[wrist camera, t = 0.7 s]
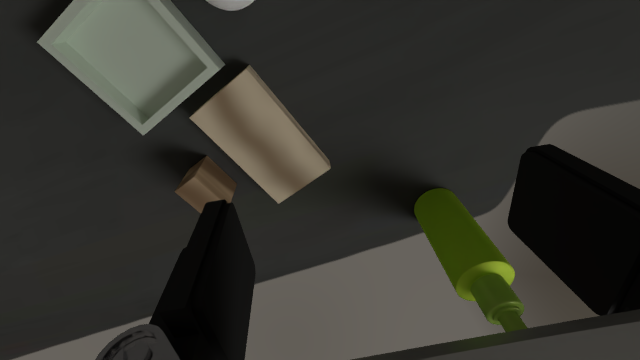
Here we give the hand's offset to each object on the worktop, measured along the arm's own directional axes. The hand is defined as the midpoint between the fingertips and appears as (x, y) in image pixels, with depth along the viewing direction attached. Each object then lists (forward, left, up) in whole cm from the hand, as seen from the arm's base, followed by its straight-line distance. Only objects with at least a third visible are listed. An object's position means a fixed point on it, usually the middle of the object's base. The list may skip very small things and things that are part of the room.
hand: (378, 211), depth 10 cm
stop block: (+19, +2, -25) cm, 31 cm away
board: (+10, +2, -25) cm, 27 cm away
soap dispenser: (-2, +24, -25) cm, 35 cm away
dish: (+14, -12, -25) cm, 31 cm away
